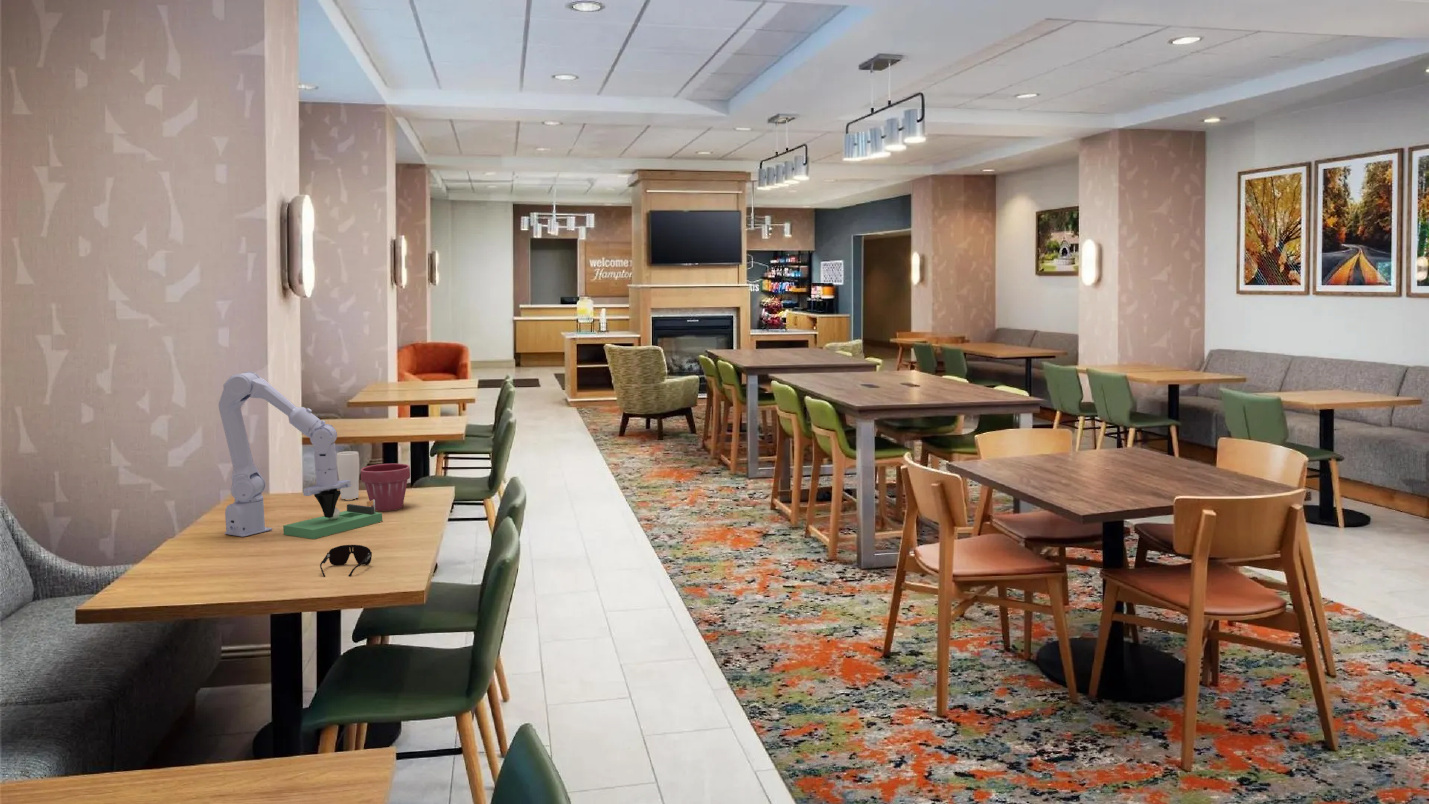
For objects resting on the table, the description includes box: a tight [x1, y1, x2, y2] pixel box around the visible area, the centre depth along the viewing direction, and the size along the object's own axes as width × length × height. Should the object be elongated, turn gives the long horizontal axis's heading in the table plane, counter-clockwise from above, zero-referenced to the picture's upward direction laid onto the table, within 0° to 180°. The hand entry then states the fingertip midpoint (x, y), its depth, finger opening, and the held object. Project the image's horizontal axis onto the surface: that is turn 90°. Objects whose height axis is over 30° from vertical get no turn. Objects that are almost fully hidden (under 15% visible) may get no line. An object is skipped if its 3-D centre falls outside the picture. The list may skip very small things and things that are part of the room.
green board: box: [282, 500, 383, 540], centre depth 290 cm, size 24×12×6 cm, turn 151°
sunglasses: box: [319, 544, 373, 578], centre depth 245 cm, size 10×12×5 cm
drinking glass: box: [336, 450, 360, 500], centre depth 330 cm, size 7×7×15 cm
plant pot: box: [360, 463, 411, 512], centre depth 315 cm, size 14×14×13 cm
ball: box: [329, 506, 341, 520], centre depth 289 cm, size 4×4×4 cm
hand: (329, 517), depth 288 cm, fingers closed, pressing on ball
